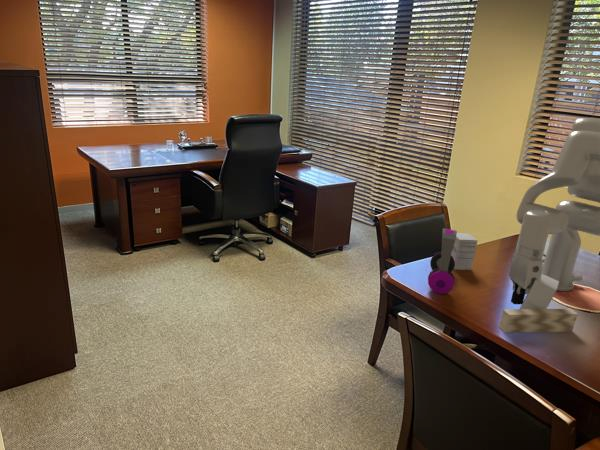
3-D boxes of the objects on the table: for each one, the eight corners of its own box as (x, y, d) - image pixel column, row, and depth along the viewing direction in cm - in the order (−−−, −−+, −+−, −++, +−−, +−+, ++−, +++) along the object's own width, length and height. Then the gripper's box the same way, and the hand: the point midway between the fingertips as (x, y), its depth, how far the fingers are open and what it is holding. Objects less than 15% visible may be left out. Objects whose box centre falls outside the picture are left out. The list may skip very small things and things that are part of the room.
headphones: (452, 298, 149) (463, 242, 142) (425, 292, 152) (434, 238, 145) (452, 273, 168) (462, 223, 161) (428, 269, 170) (437, 219, 164)
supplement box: (446, 261, 178) (451, 232, 174) (463, 262, 179) (469, 232, 174) (453, 269, 171) (459, 239, 167) (471, 270, 172) (478, 239, 167)
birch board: (565, 325, 137) (570, 308, 134) (572, 331, 134) (577, 314, 132) (498, 326, 134) (503, 309, 132) (504, 332, 131) (508, 314, 129)
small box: (537, 325, 136) (557, 290, 130) (516, 315, 139) (534, 280, 133) (541, 315, 142) (559, 281, 137) (521, 305, 145) (538, 271, 140)
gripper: (556, 261, 130) (541, 315, 136) (527, 241, 144) (515, 291, 150) (531, 260, 129) (518, 315, 135) (505, 241, 143) (493, 291, 149)
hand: (516, 303), depth 143 cm, fingers closed
